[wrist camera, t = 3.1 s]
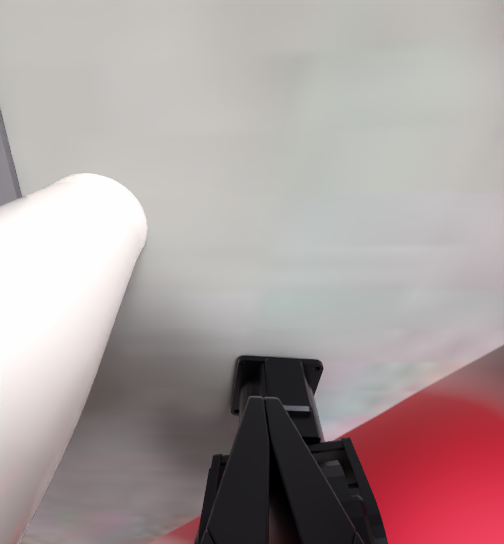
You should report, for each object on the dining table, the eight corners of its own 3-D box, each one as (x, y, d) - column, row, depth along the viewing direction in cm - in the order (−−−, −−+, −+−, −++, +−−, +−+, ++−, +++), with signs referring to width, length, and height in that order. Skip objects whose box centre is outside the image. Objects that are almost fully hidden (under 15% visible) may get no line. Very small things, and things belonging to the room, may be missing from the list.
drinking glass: (146, 284, 20) (-8, 640, 7) (30, 247, 19) (-427, 624, 6) (178, 187, 17) (10, 513, 4) (43, 131, 15) (-887, 395, 3)
